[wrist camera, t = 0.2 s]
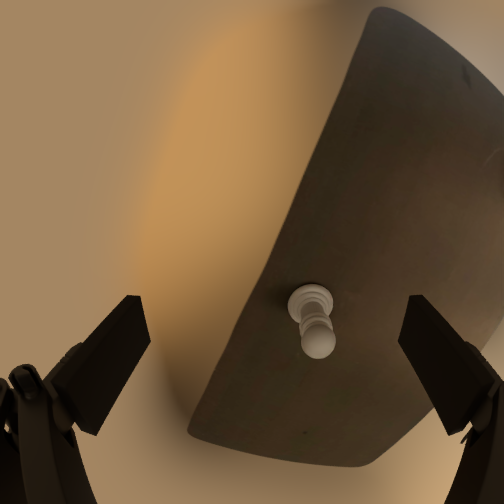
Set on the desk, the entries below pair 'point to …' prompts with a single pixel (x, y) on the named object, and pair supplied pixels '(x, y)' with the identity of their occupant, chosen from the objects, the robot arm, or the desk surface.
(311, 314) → the chess piece
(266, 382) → the desk surface
